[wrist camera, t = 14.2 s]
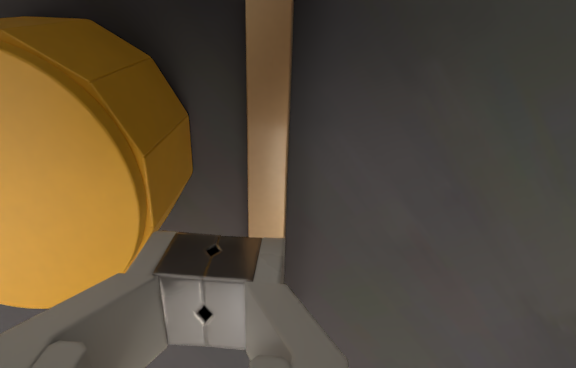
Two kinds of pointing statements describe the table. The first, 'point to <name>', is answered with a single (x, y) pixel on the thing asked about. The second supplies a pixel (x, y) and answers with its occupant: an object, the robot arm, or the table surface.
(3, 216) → the bowl
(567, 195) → the table surface
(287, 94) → the strip
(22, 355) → the robot arm
